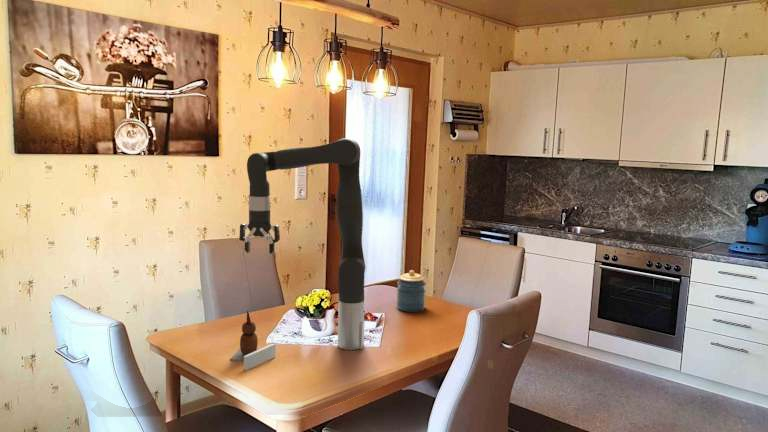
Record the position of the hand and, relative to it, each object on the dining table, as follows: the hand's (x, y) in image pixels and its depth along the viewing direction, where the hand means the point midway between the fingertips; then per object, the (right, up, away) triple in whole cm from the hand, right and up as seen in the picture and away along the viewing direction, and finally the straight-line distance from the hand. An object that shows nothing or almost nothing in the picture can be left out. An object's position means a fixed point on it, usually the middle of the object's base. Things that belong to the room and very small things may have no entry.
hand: (259, 252), depth 204 cm
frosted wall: (+4, -36, -16) cm, 39 cm away
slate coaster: (-1, -35, -11) cm, 36 cm away
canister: (+57, -29, +50) cm, 81 cm away
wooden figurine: (-1, -34, -11) cm, 36 cm away
